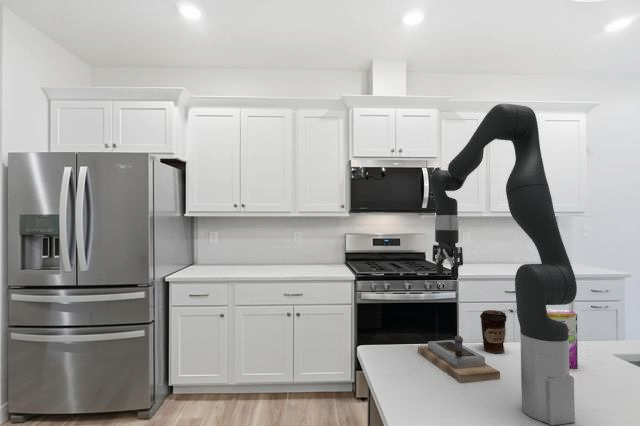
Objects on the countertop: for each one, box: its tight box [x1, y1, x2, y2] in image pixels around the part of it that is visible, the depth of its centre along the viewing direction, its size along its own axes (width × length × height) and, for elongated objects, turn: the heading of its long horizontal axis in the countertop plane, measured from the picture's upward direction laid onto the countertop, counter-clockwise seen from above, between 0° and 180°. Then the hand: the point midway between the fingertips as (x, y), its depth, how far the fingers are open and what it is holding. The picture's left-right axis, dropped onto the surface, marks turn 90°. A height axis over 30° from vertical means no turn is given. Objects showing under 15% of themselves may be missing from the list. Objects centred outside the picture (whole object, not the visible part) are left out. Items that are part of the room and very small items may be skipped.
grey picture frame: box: [427, 339, 486, 369], centre depth 108 cm, size 16×9×3 cm, turn 12°
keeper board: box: [417, 335, 501, 384], centre depth 108 cm, size 24×12×9 cm, turn 12°
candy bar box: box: [546, 308, 579, 369], centre depth 108 cm, size 11×5×16 cm, turn 84°
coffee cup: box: [479, 309, 508, 354], centre depth 121 cm, size 9×8×13 cm
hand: (446, 276), depth 121 cm, fingers open, 8 cm apart
